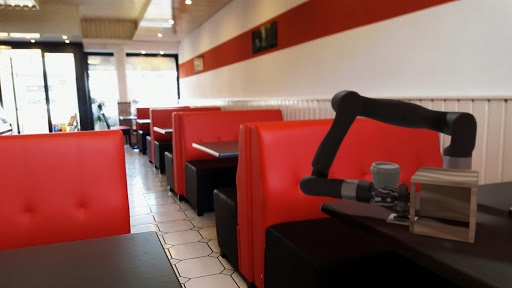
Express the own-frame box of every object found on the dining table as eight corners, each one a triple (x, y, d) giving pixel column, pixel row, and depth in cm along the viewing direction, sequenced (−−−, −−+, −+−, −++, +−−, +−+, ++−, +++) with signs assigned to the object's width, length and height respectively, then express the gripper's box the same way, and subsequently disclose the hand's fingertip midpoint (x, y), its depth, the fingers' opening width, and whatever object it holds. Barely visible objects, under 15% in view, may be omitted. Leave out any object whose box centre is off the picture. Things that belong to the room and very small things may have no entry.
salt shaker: (414, 221, 115) (415, 183, 113) (393, 220, 116) (395, 183, 114) (410, 215, 120) (411, 179, 119) (390, 214, 122) (392, 178, 120)
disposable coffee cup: (406, 204, 136) (407, 163, 134) (388, 209, 130) (389, 167, 128) (382, 198, 145) (382, 160, 143) (363, 203, 139) (364, 163, 137)
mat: (391, 214, 125) (391, 213, 125) (417, 218, 120) (417, 217, 120) (386, 221, 118) (386, 220, 118) (413, 225, 114) (413, 224, 114)
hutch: (419, 214, 124) (421, 166, 122) (476, 221, 116) (478, 170, 114) (409, 232, 108) (410, 177, 106) (473, 242, 99) (476, 183, 98)
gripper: (351, 184, 118) (409, 191, 109) (364, 176, 130) (417, 181, 121) (351, 207, 119) (408, 215, 110) (363, 197, 131) (416, 203, 122)
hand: (412, 197), depth 116 cm, fingers closed on salt shaker, 3 cm apart
